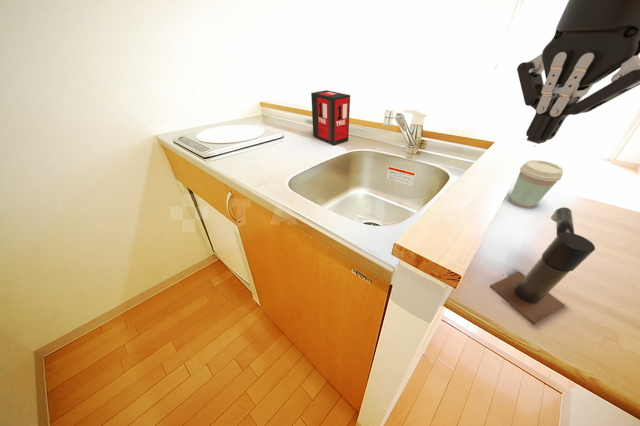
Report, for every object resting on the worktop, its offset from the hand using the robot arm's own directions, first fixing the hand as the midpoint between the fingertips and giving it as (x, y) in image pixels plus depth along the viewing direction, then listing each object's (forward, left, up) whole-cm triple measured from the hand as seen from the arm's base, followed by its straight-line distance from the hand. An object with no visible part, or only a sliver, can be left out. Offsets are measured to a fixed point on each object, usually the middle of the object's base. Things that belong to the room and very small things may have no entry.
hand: (536, 141), depth 33 cm
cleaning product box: (+84, -5, -27) cm, 88 cm away
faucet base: (-10, -2, -27) cm, 29 cm away
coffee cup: (+10, -32, -27) cm, 43 cm away
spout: (-7, -7, -16) cm, 19 cm away
